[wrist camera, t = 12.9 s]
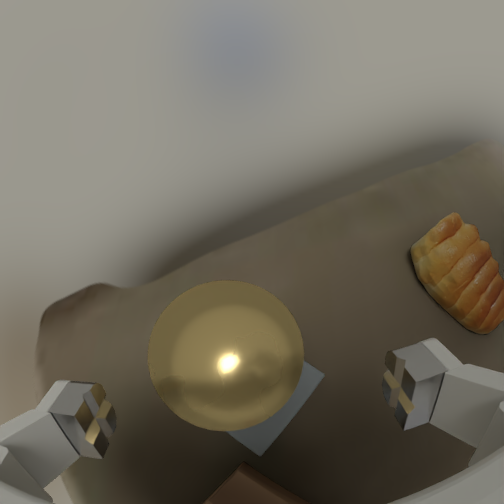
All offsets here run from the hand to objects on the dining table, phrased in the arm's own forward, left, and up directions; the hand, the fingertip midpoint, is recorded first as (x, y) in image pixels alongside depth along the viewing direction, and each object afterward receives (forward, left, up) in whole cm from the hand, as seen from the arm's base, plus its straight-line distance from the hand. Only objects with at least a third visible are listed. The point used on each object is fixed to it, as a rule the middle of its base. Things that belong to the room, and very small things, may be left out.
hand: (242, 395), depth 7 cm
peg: (-1, -1, -9) cm, 9 cm away
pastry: (-16, +7, -11) cm, 20 cm away
